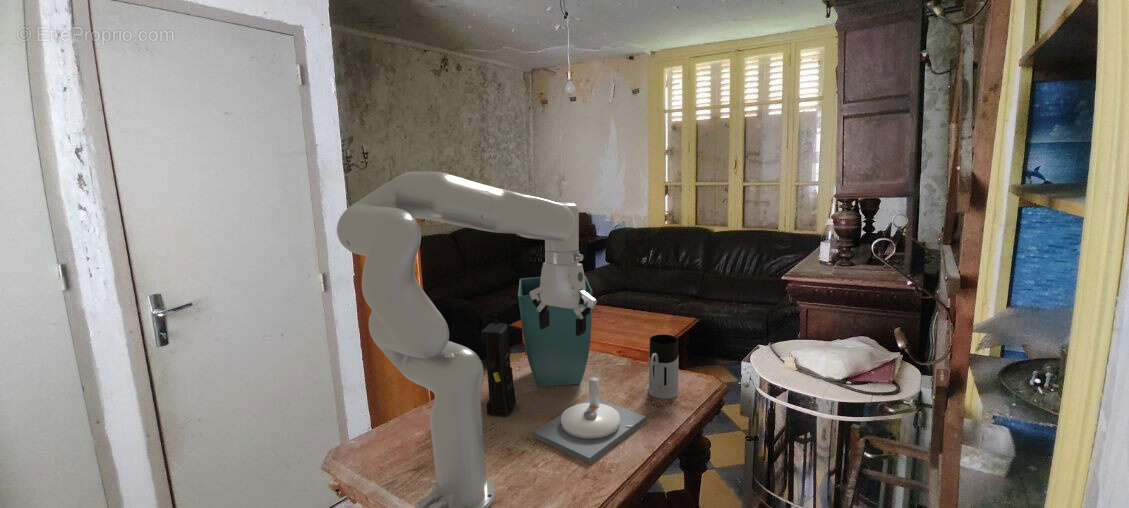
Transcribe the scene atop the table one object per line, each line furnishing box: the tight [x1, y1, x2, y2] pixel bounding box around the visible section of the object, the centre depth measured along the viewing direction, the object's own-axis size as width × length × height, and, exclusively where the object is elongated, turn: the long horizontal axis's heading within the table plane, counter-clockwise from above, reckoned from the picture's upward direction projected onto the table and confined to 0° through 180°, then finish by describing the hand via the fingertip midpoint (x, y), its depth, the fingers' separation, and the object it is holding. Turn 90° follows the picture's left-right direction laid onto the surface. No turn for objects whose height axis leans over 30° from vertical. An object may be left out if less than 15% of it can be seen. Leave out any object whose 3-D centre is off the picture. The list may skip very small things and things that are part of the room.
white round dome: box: [561, 376, 620, 439], centre depth 124 cm, size 14×14×8 cm
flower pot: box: [517, 274, 593, 387], centre depth 152 cm, size 20×20×28 cm
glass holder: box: [647, 333, 681, 400], centre depth 139 cm, size 9×14×15 cm, turn 151°
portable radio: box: [480, 314, 517, 417], centre depth 133 cm, size 8×6×25 cm
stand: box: [532, 397, 647, 465], centre depth 125 cm, size 22×17×2 cm
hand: (562, 330), depth 120 cm, fingers open, 9 cm apart
